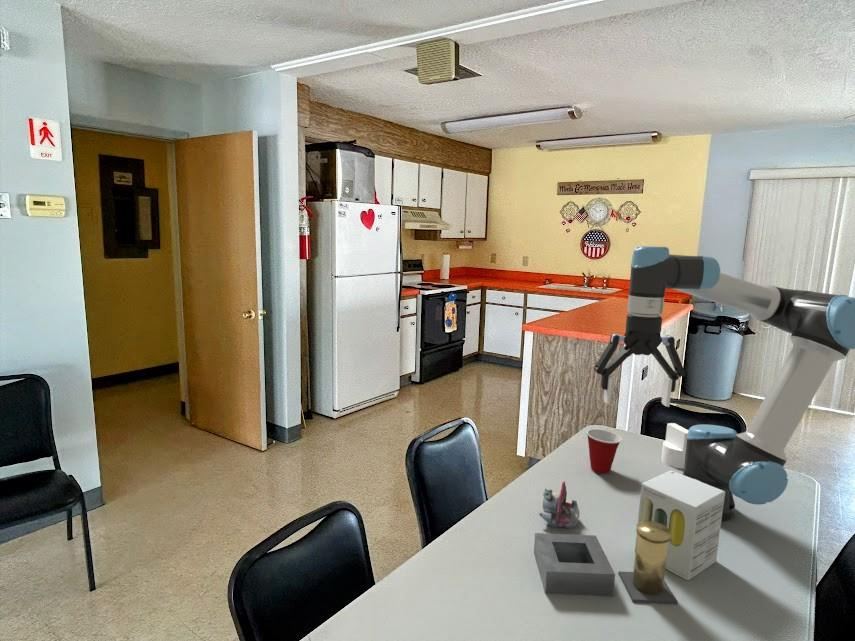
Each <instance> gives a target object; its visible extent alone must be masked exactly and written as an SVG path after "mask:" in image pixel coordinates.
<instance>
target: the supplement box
mask: <svg viewBox="0 0 855 641" xmlns="http://www.w3.org/2000/svg"><path fill="white" fill-rule="evenodd" d="M724 497H725V491H723V490H720V489H718V488H715V487H713V486H710V485H707V484H705V483H702V482H700V481H698V480H696V479H692V478H690V477H687V476H685V475H683V473H682V474H681V473H680V472H677V471H675V470H672V469H671V470H668V471H666V472H664V473H662V474H660V475H657V476H655V477H653V478H652V477H651V478H650V479H649V480H647V481H644V482H641V488H640V496H639V507H638V508H639V509H638V516H637V523H639V522H641V521H654V522H657V523H660V524H662V525H664V526H666V527H667V528H668V529H669V530H670V531H671V539H670V540H669V542H668V551H667V560H666V569H665V570H668V571H669V572H671V573H673V574H674V575H677V576H679V577H680V578H682V579H684V580H685V581H690V580H691V579H692V578H694V577H696V576H697V575H698V574H700V573H701V572H703V571H704V570H706V569H707V568H709V567H710V566H712V565H713V564H715V563H716V562H717V558H718V549H719V542H720V534H721V525H722V521H721V520H722V512H723V504H724ZM636 542H637V534H636V537H635V543H636ZM634 546H635V547H634V552H636V544H635V545H634Z"/></svg>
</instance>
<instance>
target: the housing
mask: <svg viewBox="0 0 855 641" xmlns="http://www.w3.org/2000/svg"><path fill="white" fill-rule="evenodd" d="M603 549H604V548H602V545H601V543H600V541H599V539H598V537H597V535H591V534H590V535H589V534H569V533H568V534H567V533H566V534H565V533H564V534H563V533H542V532H541V533H540V532H535V533H534V543H533V555H534V558H535V563H536V566H537V569H538V573H539V578H540V580H541V584H542V587H543V591H544V594H555V595H556V594H557V595H575V596H576V595H577V596H578V595H579V596H600V597H604V596H605V597H614V592H615V580H616V573H615V571H614V569H613V567H612V565H611V563H610V562H609V559H608V557H607V555H606V553H605V551H604V550H603Z"/></svg>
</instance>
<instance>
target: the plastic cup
mask: <svg viewBox="0 0 855 641" xmlns="http://www.w3.org/2000/svg"><path fill="white" fill-rule="evenodd" d="M586 436H587V442H588V453H589V456H588V457H589V463H590V468H591V471H593V472H595V473H596V474H601V475H606V474H610V471H611V470H612V466H613V462H614V460H615V457H616V453H617V450H618V447H619V445H620V444H621V442H622V441H623V438H622V437H621V436H620V435H619V434H617V433H615V432H612V431H610V430H609V431H608V430H606V429H600V428H590V429H587V430H586Z"/></svg>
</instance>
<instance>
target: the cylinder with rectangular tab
mask: <svg viewBox="0 0 855 641" xmlns="http://www.w3.org/2000/svg"><path fill="white" fill-rule="evenodd" d="M666 424H667V425H666V432H665V441H663V442H662V450H661V462H662V463H663V464H665V465H666V466H668V467H671V468H676V469H683V470H684V462H685V453H686V443H687V440H686V438H687V435H688V431H689V429H686V428H685V427H683V426H681V425H679V424H677V423H676V422H675V423H674V422H670V423H669V422H668V423H666Z"/></svg>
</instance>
